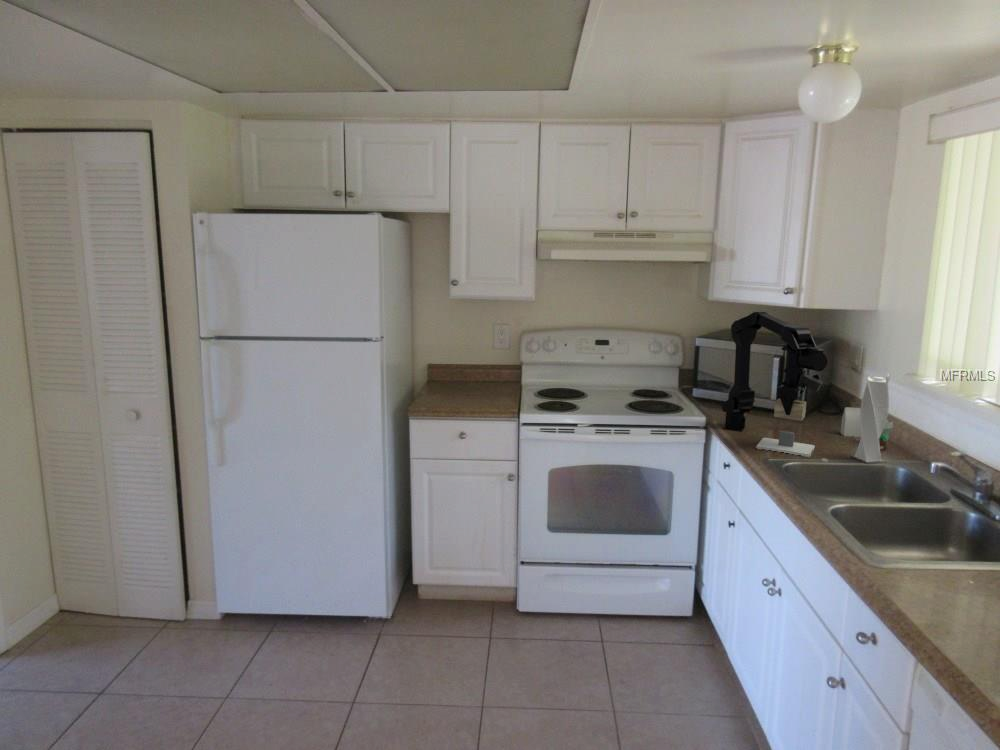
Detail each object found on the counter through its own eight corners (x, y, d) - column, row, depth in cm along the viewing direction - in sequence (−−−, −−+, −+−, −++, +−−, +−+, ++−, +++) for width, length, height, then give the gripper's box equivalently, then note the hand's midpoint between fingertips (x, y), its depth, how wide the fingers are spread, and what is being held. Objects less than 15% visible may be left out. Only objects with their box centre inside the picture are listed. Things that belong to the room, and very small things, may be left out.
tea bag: (864, 437, 233) (867, 409, 231) (843, 436, 234) (846, 408, 233) (860, 434, 237) (863, 407, 235) (840, 433, 238) (843, 406, 236)
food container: (896, 453, 214) (900, 424, 213) (875, 452, 216) (879, 422, 214) (882, 443, 226) (886, 414, 224) (863, 441, 228) (866, 413, 226)
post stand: (756, 448, 217) (757, 432, 216) (763, 440, 227) (765, 424, 226) (809, 457, 209) (811, 440, 208) (814, 448, 219) (816, 432, 218)
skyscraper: (890, 464, 204) (902, 374, 198) (866, 465, 202) (878, 375, 197) (870, 455, 212) (881, 369, 207) (847, 456, 210) (858, 370, 205)
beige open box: (801, 420, 211) (803, 405, 210) (773, 416, 216) (775, 401, 215) (804, 416, 216) (806, 401, 216) (777, 412, 221) (779, 398, 220)
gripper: (818, 373, 201) (812, 422, 204) (825, 364, 216) (820, 411, 219) (779, 369, 207) (774, 417, 210) (789, 361, 222) (784, 406, 225)
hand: (789, 413), depth 216 cm, fingers closed on beige open box, 6 cm apart
